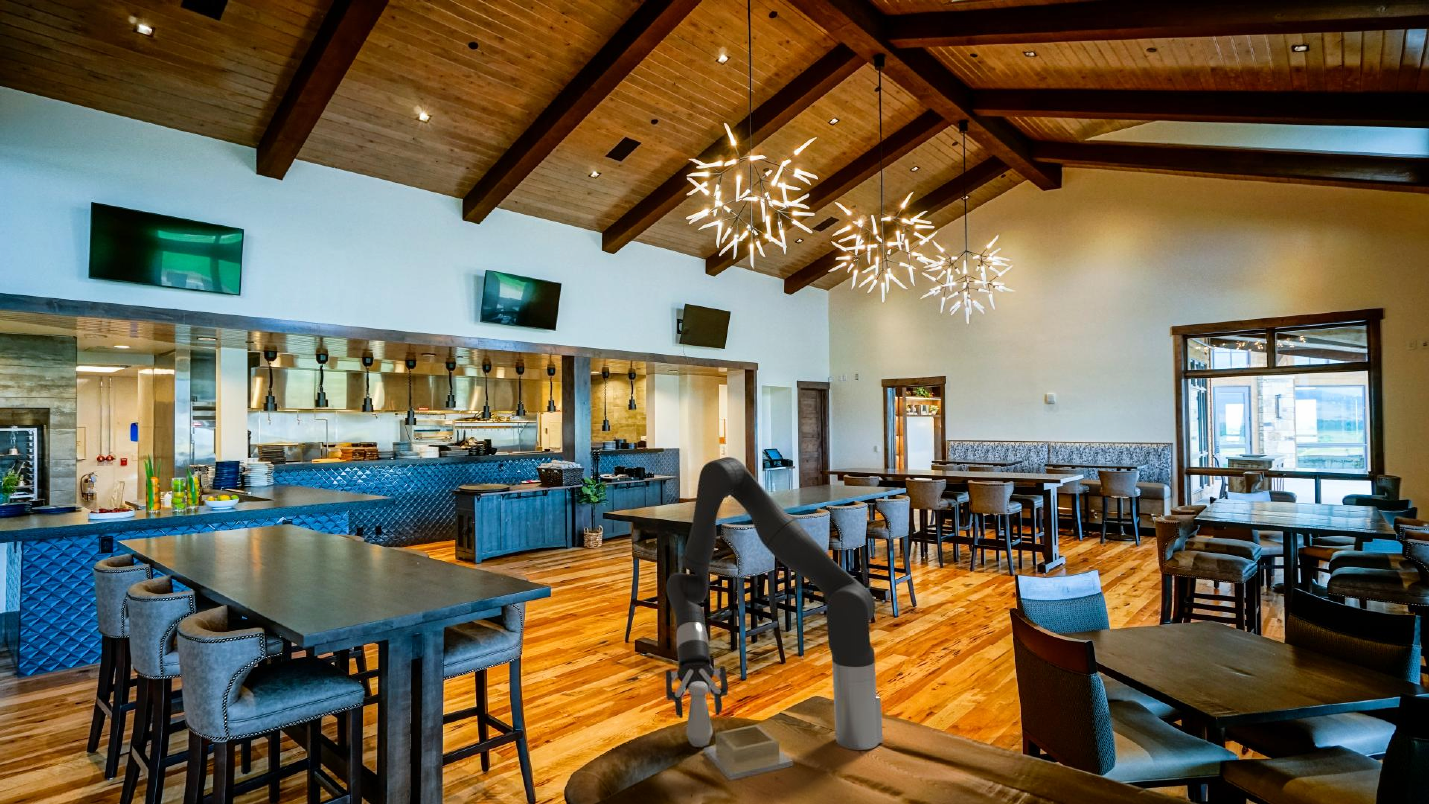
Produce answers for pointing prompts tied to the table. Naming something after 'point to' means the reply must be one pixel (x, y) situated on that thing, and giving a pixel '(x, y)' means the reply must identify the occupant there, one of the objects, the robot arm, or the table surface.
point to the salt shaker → (698, 716)
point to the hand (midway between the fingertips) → (699, 714)
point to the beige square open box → (746, 752)
